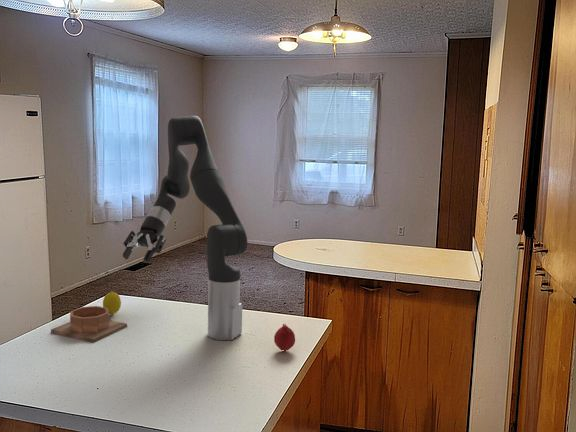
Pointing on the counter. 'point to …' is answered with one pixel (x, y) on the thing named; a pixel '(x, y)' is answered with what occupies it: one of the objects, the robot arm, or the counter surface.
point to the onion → (284, 338)
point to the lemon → (112, 302)
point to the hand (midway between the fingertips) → (135, 259)
